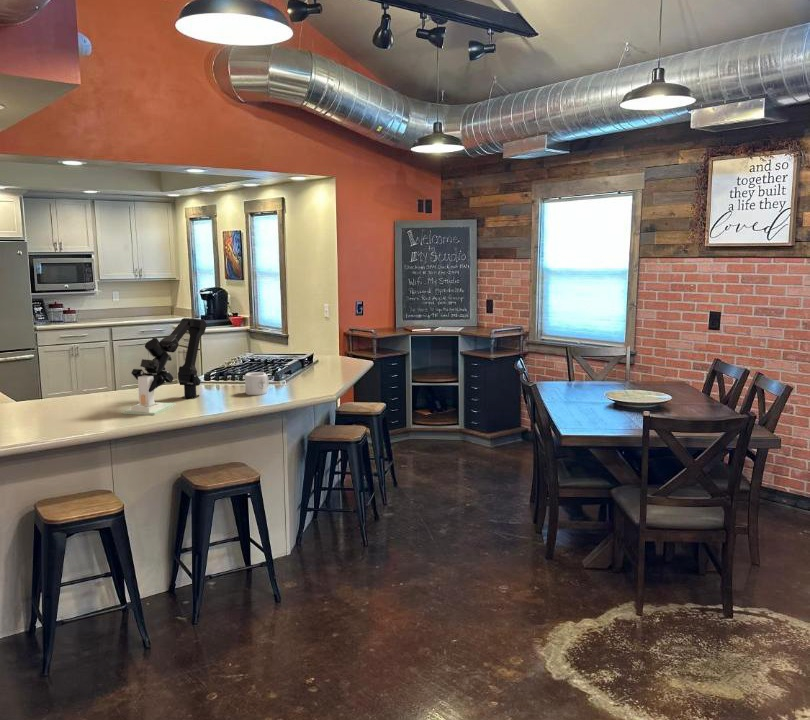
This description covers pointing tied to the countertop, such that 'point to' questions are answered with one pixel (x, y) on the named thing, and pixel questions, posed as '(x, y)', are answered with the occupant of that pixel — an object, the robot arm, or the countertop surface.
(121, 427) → the countertop surface
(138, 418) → the countertop surface
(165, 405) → the board
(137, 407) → the white square frame
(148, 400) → the plug
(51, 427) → the countertop surface
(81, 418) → the countertop surface
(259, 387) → the mug
